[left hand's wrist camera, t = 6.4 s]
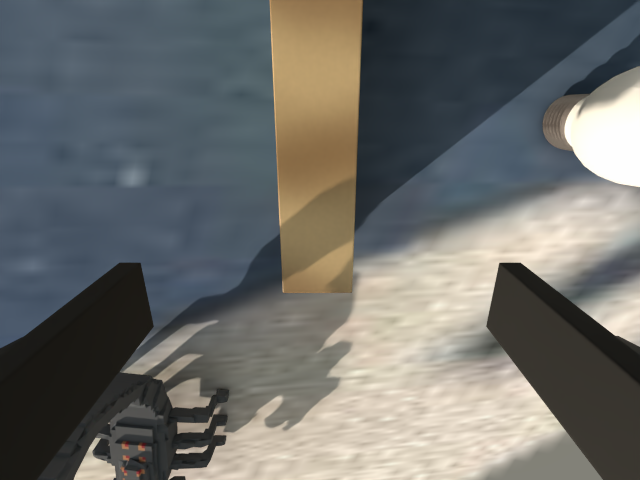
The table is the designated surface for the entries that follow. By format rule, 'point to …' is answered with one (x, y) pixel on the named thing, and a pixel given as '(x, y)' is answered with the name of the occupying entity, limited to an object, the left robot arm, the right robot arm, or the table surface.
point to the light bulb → (601, 127)
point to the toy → (139, 433)
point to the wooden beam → (316, 139)
